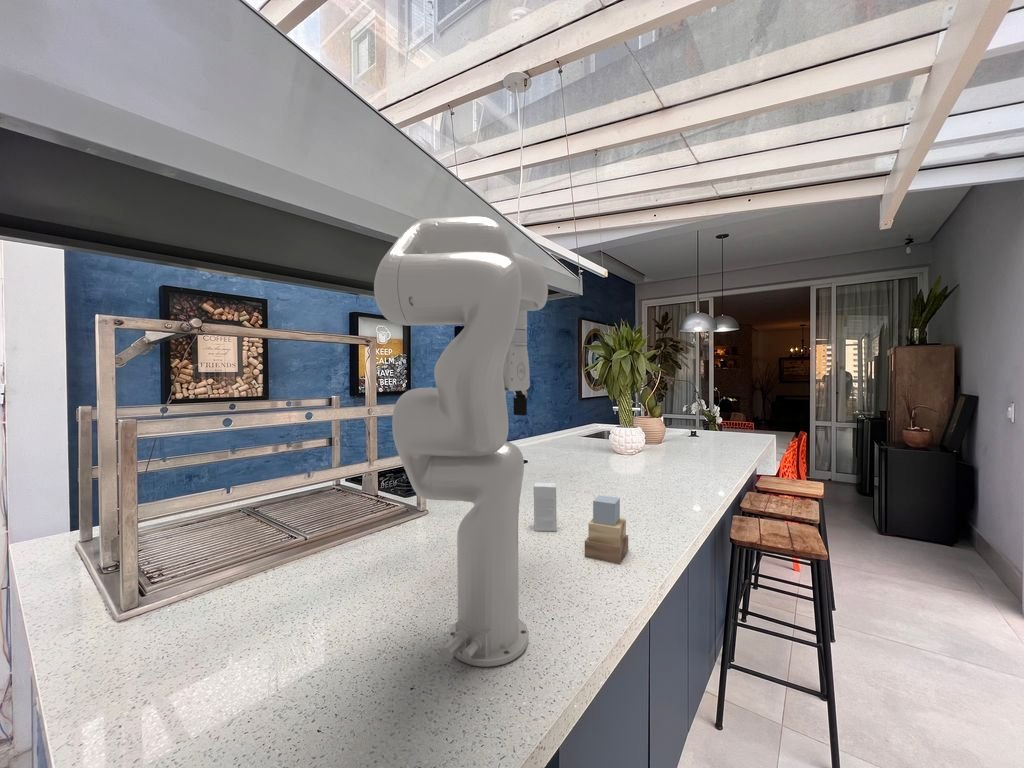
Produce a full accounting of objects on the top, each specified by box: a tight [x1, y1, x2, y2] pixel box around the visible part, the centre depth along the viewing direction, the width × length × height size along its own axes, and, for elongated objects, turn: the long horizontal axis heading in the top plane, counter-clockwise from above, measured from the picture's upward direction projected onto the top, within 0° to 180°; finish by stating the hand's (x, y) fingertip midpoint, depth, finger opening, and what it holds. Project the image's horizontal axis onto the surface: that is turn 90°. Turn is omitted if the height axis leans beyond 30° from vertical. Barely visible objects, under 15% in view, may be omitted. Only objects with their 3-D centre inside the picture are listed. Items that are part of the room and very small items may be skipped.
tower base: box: [584, 534, 629, 565], centre depth 98 cm, size 8×8×4 cm
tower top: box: [587, 517, 627, 546], centre depth 98 cm, size 7×7×4 cm
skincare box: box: [533, 482, 558, 532], centre depth 114 cm, size 6×4×12 cm
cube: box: [592, 494, 621, 526], centre depth 98 cm, size 5×5×5 cm
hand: (510, 417), depth 93 cm, fingers open, 9 cm apart
